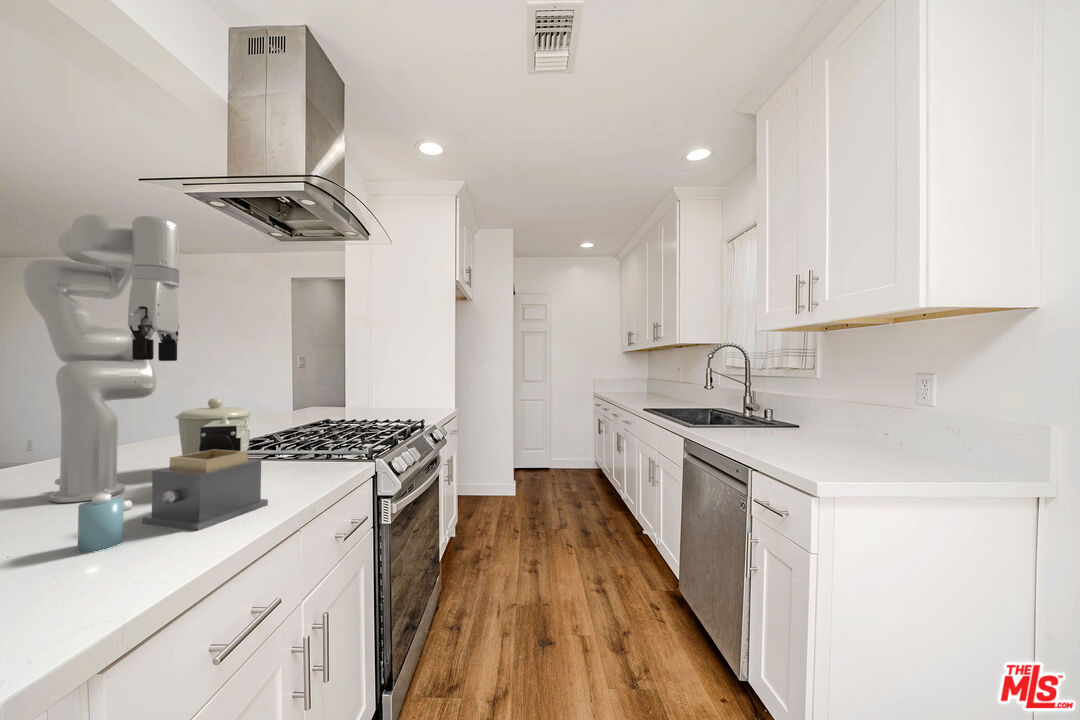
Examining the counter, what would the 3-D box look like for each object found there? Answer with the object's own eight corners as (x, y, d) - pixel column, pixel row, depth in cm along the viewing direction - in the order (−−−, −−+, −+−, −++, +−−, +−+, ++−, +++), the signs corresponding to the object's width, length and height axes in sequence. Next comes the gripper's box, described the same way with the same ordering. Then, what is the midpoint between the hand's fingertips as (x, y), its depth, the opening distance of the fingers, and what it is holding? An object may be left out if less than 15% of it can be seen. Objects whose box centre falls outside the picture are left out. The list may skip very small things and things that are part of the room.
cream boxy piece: (239, 492, 110) (240, 419, 110) (196, 496, 106) (198, 421, 106) (251, 475, 126) (252, 412, 126) (214, 478, 123) (215, 413, 123)
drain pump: (68, 550, 76) (69, 499, 76) (116, 535, 83) (117, 487, 83) (93, 554, 75) (94, 501, 75) (139, 538, 81) (140, 490, 81)
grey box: (138, 524, 88) (140, 460, 88) (218, 499, 104) (219, 445, 104) (194, 531, 85) (196, 465, 85) (267, 504, 101) (268, 449, 101)
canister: (156, 476, 123) (158, 399, 123) (213, 462, 141) (214, 395, 141) (215, 480, 121) (216, 401, 121) (265, 465, 139) (266, 396, 139)
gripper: (156, 285, 101) (156, 361, 101) (107, 268, 84) (107, 359, 84) (195, 286, 103) (195, 361, 103) (156, 270, 87) (156, 359, 86)
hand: (156, 360), depth 93 cm, fingers open, 9 cm apart
